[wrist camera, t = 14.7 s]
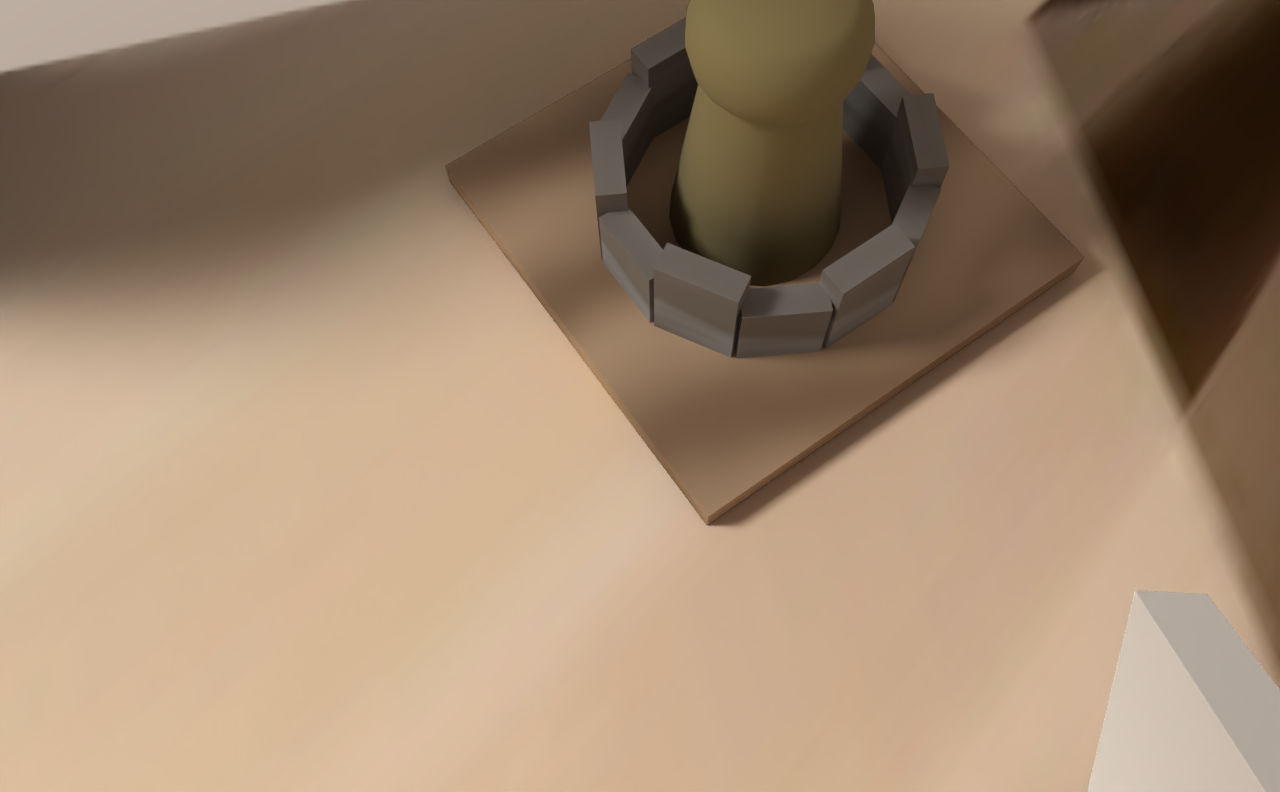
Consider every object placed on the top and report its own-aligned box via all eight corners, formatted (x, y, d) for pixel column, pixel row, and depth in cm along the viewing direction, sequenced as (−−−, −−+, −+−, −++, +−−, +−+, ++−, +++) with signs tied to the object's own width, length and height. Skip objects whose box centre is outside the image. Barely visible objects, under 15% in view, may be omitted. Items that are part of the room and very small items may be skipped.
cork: (828, 132, 41) (882, -111, 30) (853, 279, 38) (920, 70, 28) (661, 145, 41) (659, -93, 30) (677, 293, 38) (680, 89, 28)
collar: (450, 181, 41) (423, 96, 37) (794, -19, 45) (809, -120, 40) (706, 525, 36) (713, 476, 32) (1074, 270, 39) (1129, 193, 35)
